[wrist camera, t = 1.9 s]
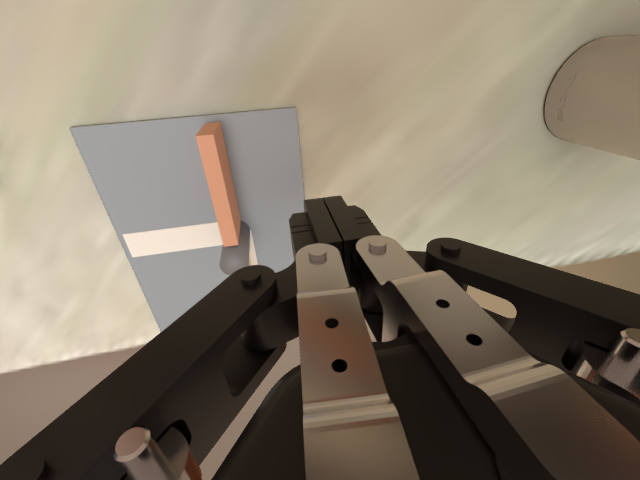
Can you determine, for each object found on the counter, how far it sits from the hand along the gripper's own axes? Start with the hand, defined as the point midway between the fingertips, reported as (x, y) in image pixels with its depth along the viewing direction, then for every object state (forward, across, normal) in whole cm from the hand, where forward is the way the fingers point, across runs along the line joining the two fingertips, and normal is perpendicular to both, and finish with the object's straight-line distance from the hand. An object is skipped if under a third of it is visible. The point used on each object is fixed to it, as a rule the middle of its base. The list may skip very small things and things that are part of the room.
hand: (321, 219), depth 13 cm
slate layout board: (+18, +8, +10) cm, 22 cm away
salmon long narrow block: (+17, +6, +3) cm, 18 cm away
